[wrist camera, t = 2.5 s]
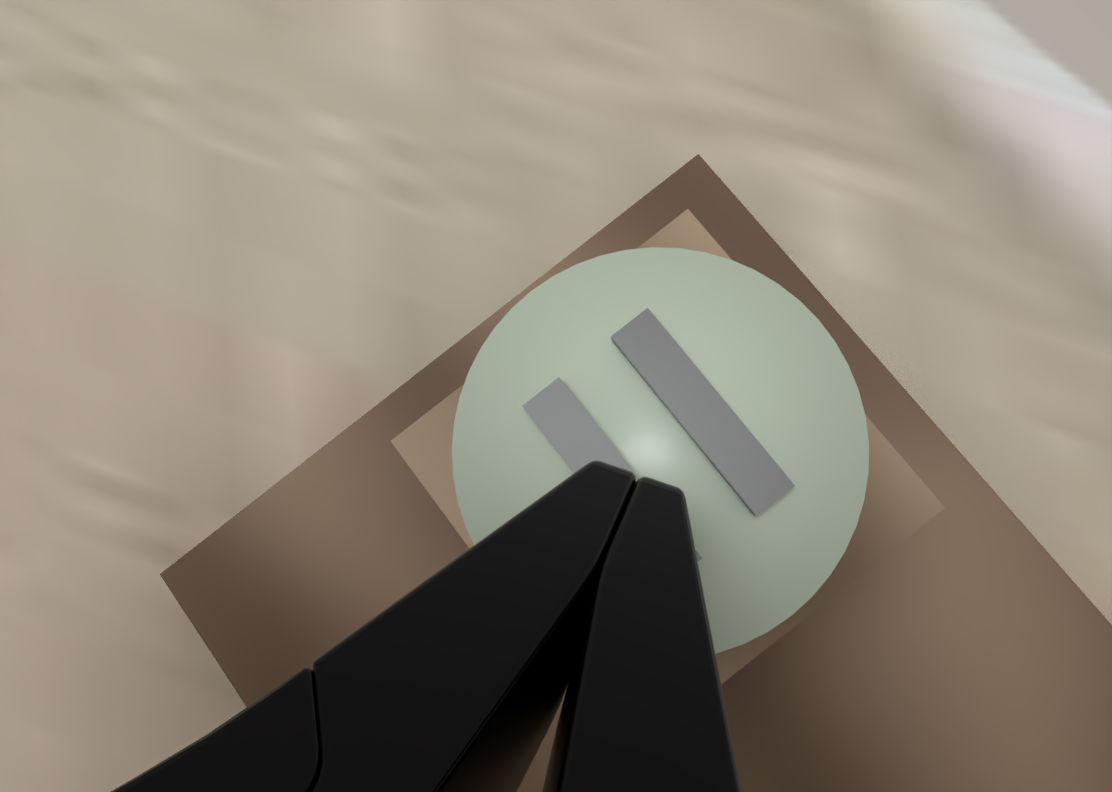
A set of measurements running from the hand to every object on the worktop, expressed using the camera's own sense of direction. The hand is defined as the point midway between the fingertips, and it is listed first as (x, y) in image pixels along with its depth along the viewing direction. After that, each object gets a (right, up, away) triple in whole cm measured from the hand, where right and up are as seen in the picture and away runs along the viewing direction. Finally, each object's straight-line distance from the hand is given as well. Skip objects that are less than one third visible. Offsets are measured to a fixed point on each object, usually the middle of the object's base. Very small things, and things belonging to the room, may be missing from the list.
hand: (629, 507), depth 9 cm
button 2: (+1, 0, +3) cm, 3 cm away
